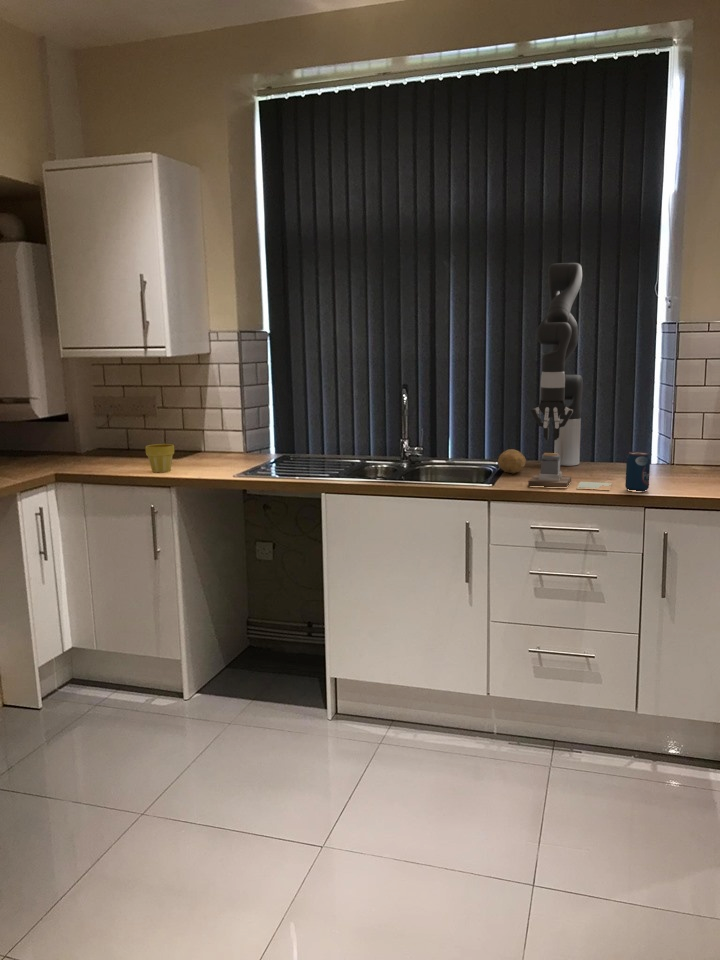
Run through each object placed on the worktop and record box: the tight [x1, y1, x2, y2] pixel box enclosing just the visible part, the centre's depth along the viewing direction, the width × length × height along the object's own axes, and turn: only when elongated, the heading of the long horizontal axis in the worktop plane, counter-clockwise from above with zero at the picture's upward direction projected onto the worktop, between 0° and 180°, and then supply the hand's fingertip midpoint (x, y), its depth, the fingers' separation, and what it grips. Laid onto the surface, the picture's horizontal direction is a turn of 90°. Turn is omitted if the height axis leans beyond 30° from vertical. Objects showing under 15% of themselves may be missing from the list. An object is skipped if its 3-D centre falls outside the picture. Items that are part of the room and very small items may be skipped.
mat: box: [576, 481, 613, 488], centre depth 259 cm, size 10×10×1 cm
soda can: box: [624, 451, 651, 491], centre depth 252 cm, size 7×7×12 cm
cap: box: [540, 452, 561, 475], centre depth 263 cm, size 6×6×6 cm
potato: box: [497, 448, 527, 474], centre depth 286 cm, size 10×14×8 cm
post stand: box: [528, 471, 572, 487], centre depth 264 cm, size 12×12×8 cm
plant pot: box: [144, 443, 175, 473], centre depth 301 cm, size 10×10×10 cm
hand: (551, 439), depth 262 cm, fingers closed
